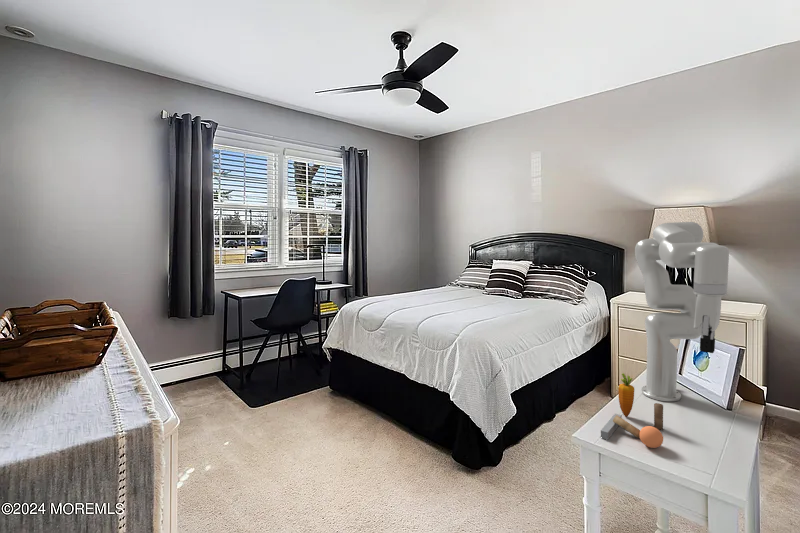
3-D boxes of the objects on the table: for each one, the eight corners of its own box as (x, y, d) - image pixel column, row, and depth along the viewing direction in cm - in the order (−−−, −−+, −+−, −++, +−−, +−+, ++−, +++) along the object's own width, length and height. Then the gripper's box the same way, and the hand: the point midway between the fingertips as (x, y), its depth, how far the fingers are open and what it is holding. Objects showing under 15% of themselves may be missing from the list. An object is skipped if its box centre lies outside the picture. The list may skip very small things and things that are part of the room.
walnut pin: (654, 425, 130) (654, 402, 129) (663, 428, 128) (663, 404, 127) (653, 429, 128) (653, 405, 127) (662, 431, 126) (662, 407, 125)
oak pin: (640, 437, 124) (614, 420, 130) (643, 431, 123) (617, 414, 129) (637, 439, 122) (611, 422, 128) (640, 433, 122) (615, 416, 127)
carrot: (636, 420, 134) (637, 377, 132) (620, 419, 135) (621, 377, 133) (631, 413, 138) (631, 372, 137) (615, 412, 139) (616, 371, 138)
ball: (656, 420, 118) (667, 435, 119) (635, 423, 122) (646, 437, 123) (656, 436, 114) (667, 451, 115) (634, 438, 118) (646, 453, 118)
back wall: (614, 420, 134) (615, 413, 134) (621, 422, 133) (621, 415, 133) (600, 437, 124) (600, 430, 124) (607, 440, 123) (607, 432, 123)
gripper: (698, 283, 121) (695, 342, 123) (688, 292, 110) (686, 356, 112) (730, 285, 115) (727, 347, 118) (723, 295, 105) (720, 361, 107)
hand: (707, 351), depth 115 cm, fingers closed
